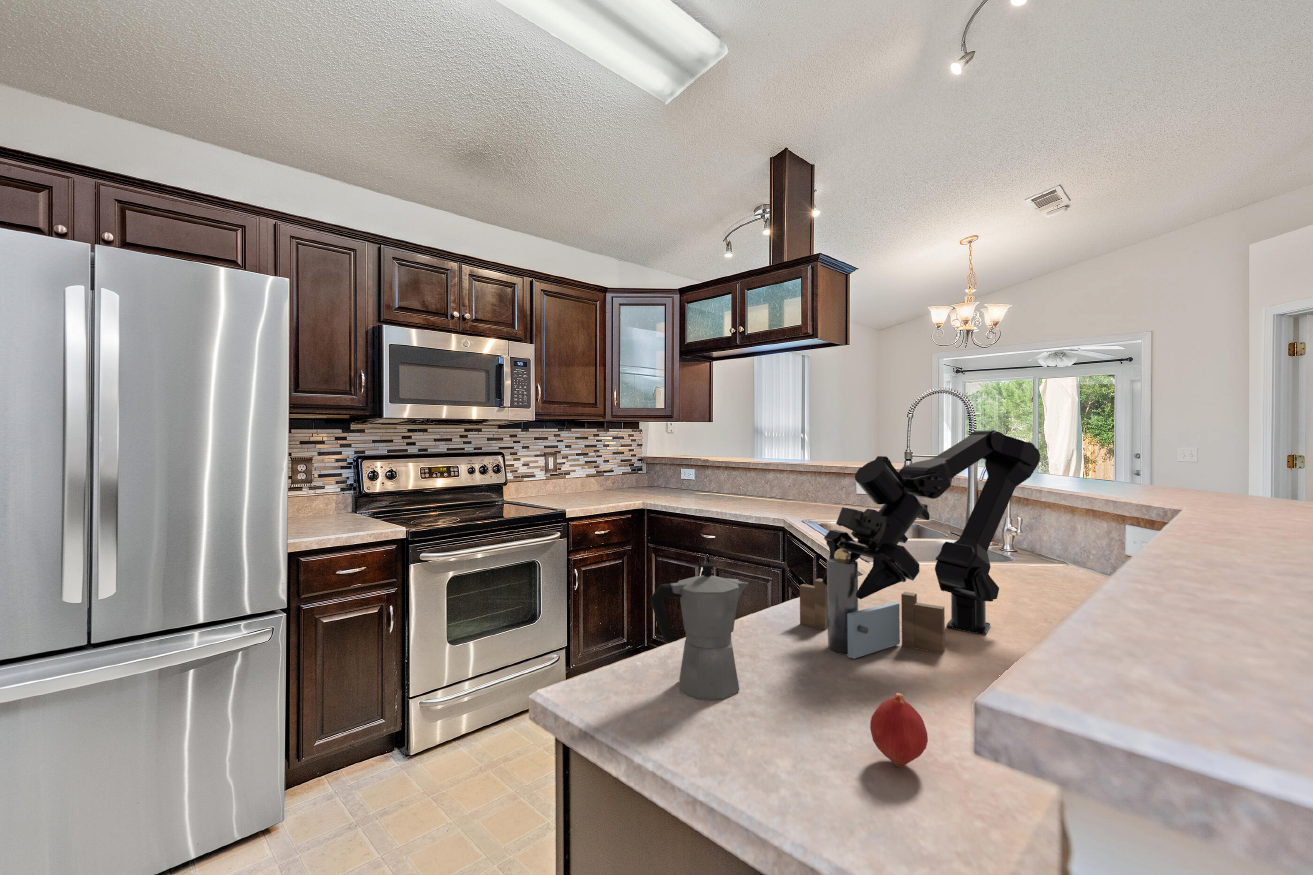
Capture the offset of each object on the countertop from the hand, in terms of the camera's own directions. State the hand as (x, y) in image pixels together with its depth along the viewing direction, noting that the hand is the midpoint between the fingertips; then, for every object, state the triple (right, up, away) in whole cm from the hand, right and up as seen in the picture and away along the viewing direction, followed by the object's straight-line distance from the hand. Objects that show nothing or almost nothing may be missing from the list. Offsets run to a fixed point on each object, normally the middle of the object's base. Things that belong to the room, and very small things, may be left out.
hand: (840, 590), depth 96 cm
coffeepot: (-25, -10, -14) cm, 31 cm away
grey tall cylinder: (+1, -10, 0) cm, 10 cm away
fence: (+7, -10, +6) cm, 13 cm away
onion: (-5, -10, -34) cm, 36 cm away
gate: (+6, -10, -2) cm, 11 cm away
